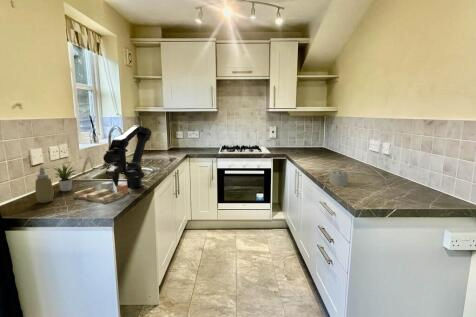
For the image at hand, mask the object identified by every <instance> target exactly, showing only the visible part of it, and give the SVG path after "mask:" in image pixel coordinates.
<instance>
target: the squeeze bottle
mask: <svg viewBox="0 0 476 317" xmlns="http://www.w3.org/2000/svg"><path fill="white" fill-rule="evenodd" d="M39 169H40V170H39V174H37V175H36V177H37V178H36V179H35V198H36V200H37V201H38V203H40V204H42V203H44V204H45V203H50V202H52V201H53V200H54V195H55V192H54V186H53V184H52V179H51V178H50V177H49V174H48V173H46V172H45V169H44V167H40V168H39Z"/></svg>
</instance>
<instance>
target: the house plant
mask: <svg viewBox="0 0 476 317" xmlns="http://www.w3.org/2000/svg"><path fill="white" fill-rule="evenodd" d="M70 165H71V163H69V164H68V165H67V166H66V164H62V169H61V168H60V167H57V168H56V167H55V168H52V170H54V171H56V172H55V173H54V175H55V179H57V178H59V180H58V185H59V188H60V191H61V192H68V191H71V190H72V186H73V185H72V184H73V178H71V177H72V176H75V175H77V172H76V171H77V169H75V167H76V165H75V164H74V165H72V166H70ZM69 167H70V168H69ZM73 169H74V170H73Z"/></svg>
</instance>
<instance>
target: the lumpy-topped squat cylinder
mask: <svg viewBox="0 0 476 317" xmlns="http://www.w3.org/2000/svg"><path fill="white" fill-rule="evenodd" d="M348 180H349V174H348V172H347V171H346V170H342V169H334V170H331V171H329V181H328V182H330V183H331V184H332V186H334V185H336V186H335V187H340V186H344V187H347V186H348V183H349V181H348ZM330 183H329V184H330ZM331 184H330V185H331Z"/></svg>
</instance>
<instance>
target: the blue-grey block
mask: <svg viewBox="0 0 476 317" xmlns="http://www.w3.org/2000/svg"><path fill="white" fill-rule="evenodd" d="M100 189H101V190H103V189H109V190H111V192H113V191H114V182H111V181H105V182H102V183H100ZM112 190H113V191H112Z"/></svg>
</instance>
